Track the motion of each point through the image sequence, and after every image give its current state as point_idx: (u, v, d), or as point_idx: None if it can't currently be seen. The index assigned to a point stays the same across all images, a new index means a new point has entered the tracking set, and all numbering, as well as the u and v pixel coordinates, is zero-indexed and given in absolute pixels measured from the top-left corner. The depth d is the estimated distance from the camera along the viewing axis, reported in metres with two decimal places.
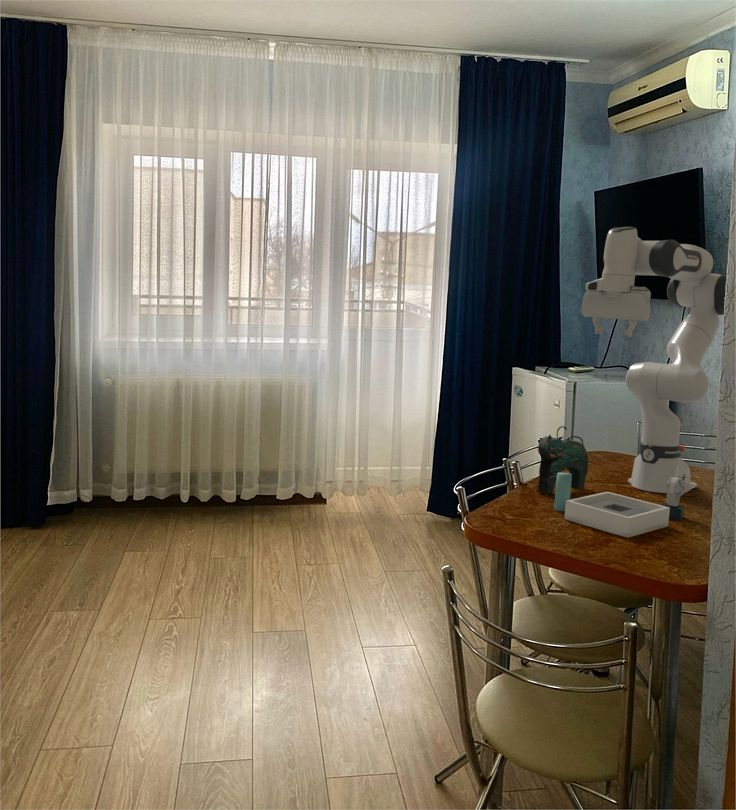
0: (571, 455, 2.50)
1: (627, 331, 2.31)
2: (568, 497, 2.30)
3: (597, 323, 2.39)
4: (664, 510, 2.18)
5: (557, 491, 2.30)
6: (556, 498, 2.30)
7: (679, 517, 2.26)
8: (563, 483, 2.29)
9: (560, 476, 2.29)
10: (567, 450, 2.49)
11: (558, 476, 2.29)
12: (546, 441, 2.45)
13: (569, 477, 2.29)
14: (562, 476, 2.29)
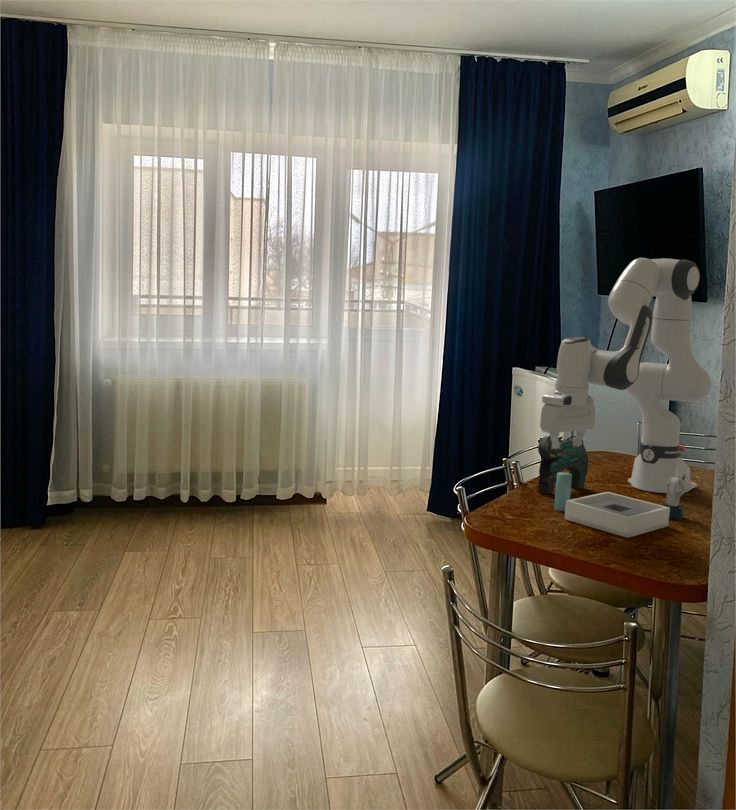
0: (571, 455, 2.50)
1: (580, 440, 2.31)
2: (568, 497, 2.30)
3: None
4: (664, 510, 2.18)
5: (557, 491, 2.30)
6: (556, 498, 2.30)
7: (679, 517, 2.26)
8: (563, 483, 2.29)
9: (560, 476, 2.29)
10: (567, 450, 2.49)
11: (558, 476, 2.29)
12: (546, 441, 2.45)
13: (569, 477, 2.29)
14: (562, 476, 2.28)
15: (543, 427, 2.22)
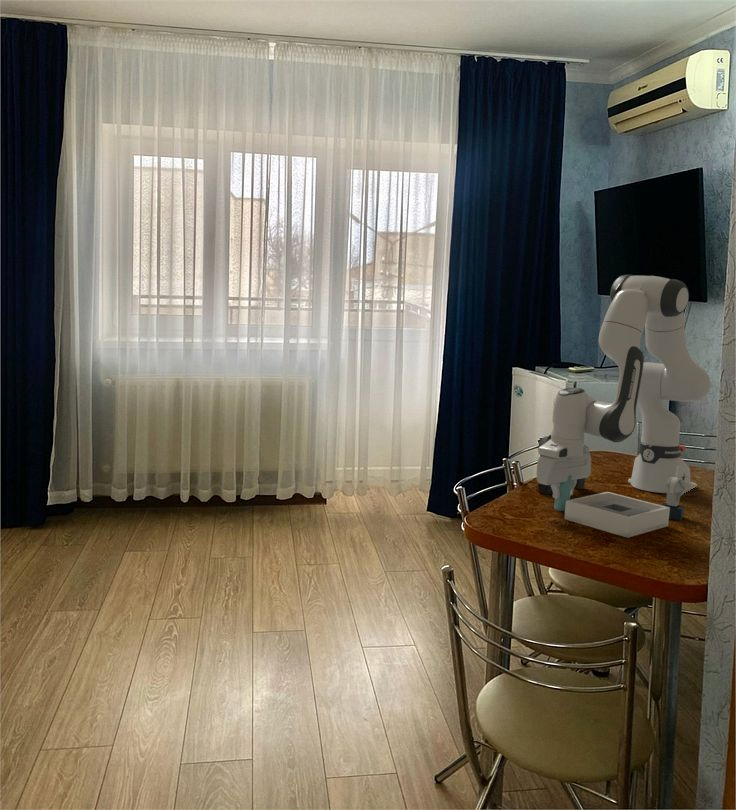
0: None
1: (572, 490, 2.32)
2: (568, 497, 2.30)
3: None
4: (664, 510, 2.18)
5: None
6: None
7: (679, 517, 2.26)
8: (563, 483, 2.29)
9: None
10: None
11: None
12: (546, 441, 2.45)
13: (569, 477, 2.29)
14: None
15: (539, 479, 2.24)
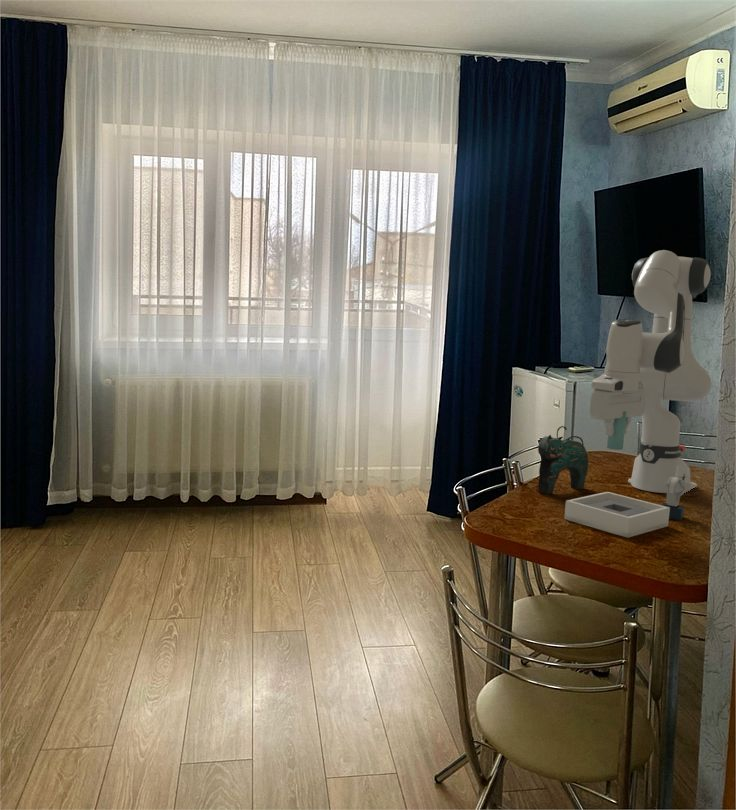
0: (571, 455, 2.50)
1: (626, 428, 2.20)
2: (622, 435, 2.17)
3: None
4: (664, 510, 2.18)
5: None
6: (609, 436, 2.18)
7: (679, 517, 2.26)
8: (617, 420, 2.16)
9: None
10: (567, 450, 2.49)
11: None
12: (546, 441, 2.45)
13: (624, 413, 2.16)
14: None
15: (592, 414, 2.12)
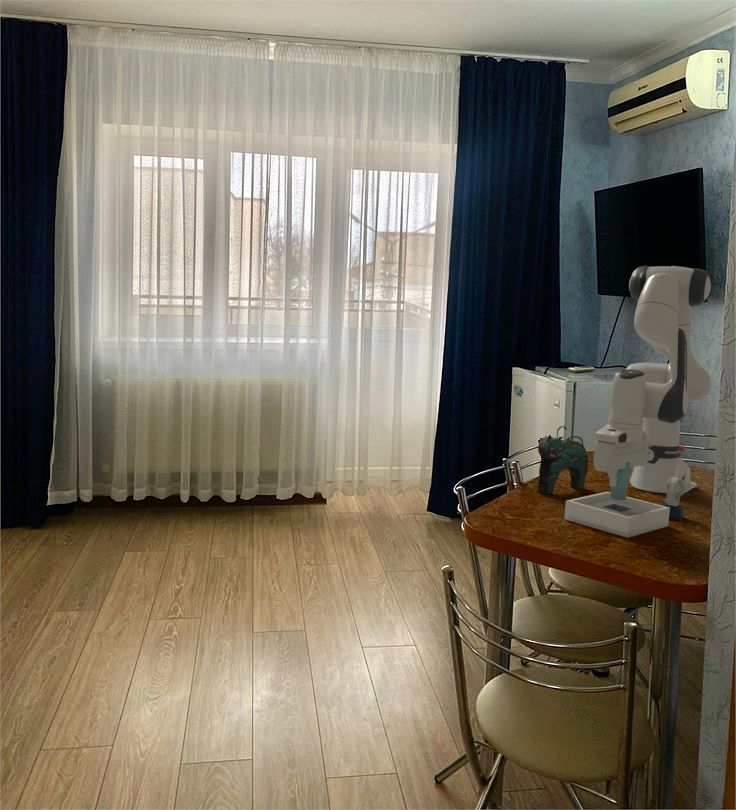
0: (571, 455, 2.50)
1: (629, 478, 2.20)
2: (626, 485, 2.18)
3: None
4: (664, 510, 2.18)
5: None
6: None
7: (679, 517, 2.26)
8: (621, 470, 2.17)
9: None
10: (567, 450, 2.49)
11: None
12: (546, 441, 2.45)
13: (627, 464, 2.17)
14: None
15: (596, 466, 2.13)
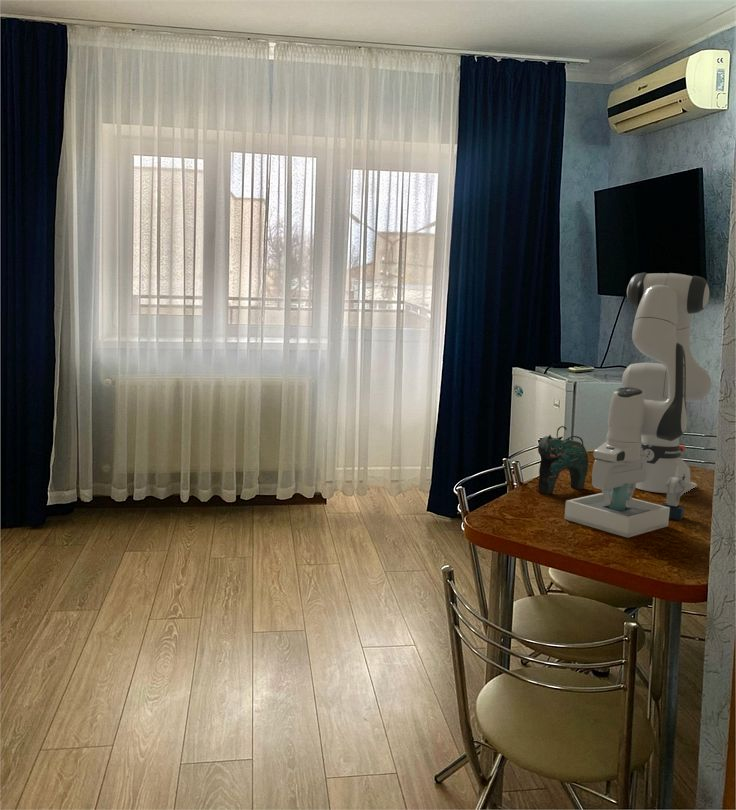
0: (571, 455, 2.50)
1: (631, 494, 2.22)
2: (624, 506, 2.19)
3: None
4: (664, 510, 2.18)
5: None
6: (611, 507, 2.20)
7: (679, 517, 2.26)
8: (619, 492, 2.18)
9: None
10: (567, 450, 2.49)
11: None
12: (546, 441, 2.45)
13: (625, 485, 2.18)
14: None
15: (594, 484, 2.13)
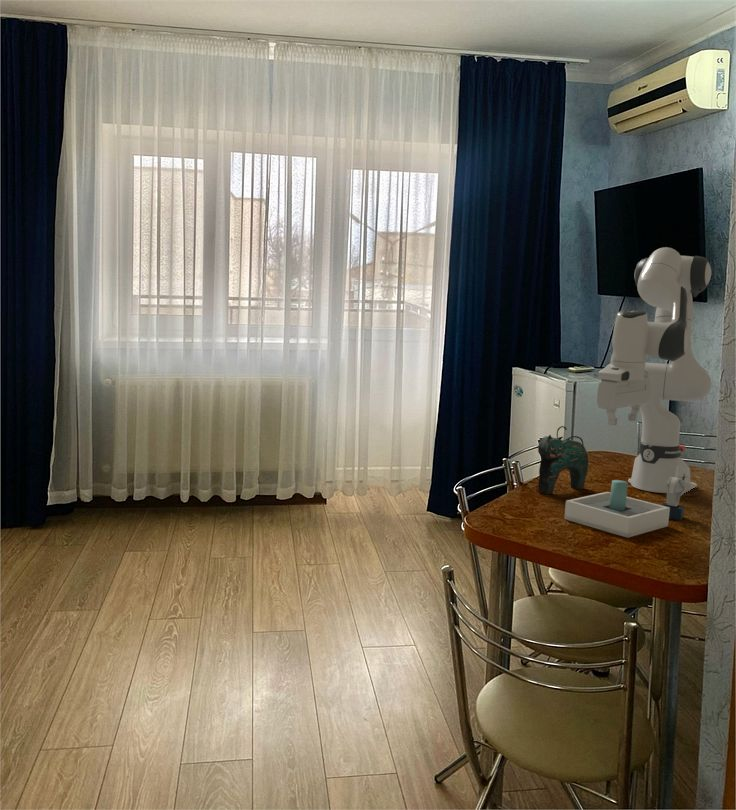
0: (571, 455, 2.50)
1: (636, 416, 2.26)
2: (624, 506, 2.19)
3: None
4: (664, 510, 2.18)
5: (612, 500, 2.19)
6: (611, 507, 2.20)
7: (679, 517, 2.26)
8: (619, 492, 2.18)
9: (615, 484, 2.18)
10: (567, 450, 2.49)
11: (613, 484, 2.19)
12: (546, 441, 2.45)
13: (625, 485, 2.18)
14: (618, 484, 2.18)
15: (600, 404, 2.17)
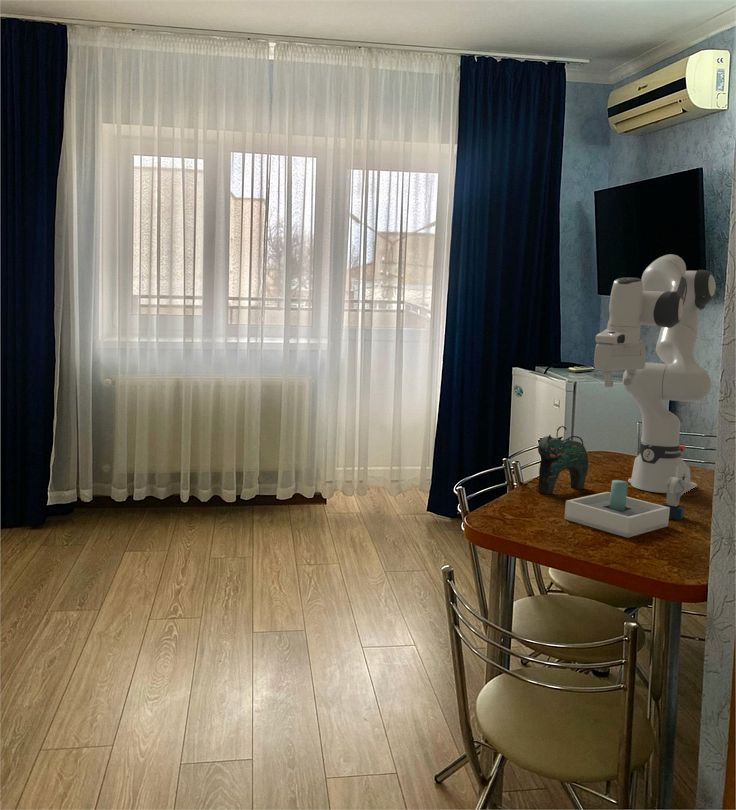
0: (571, 455, 2.50)
1: (631, 380, 2.36)
2: (624, 506, 2.19)
3: None
4: (664, 510, 2.18)
5: (612, 500, 2.19)
6: (611, 507, 2.20)
7: (679, 517, 2.26)
8: (619, 492, 2.18)
9: (615, 484, 2.18)
10: (567, 450, 2.49)
11: (613, 484, 2.19)
12: (546, 441, 2.45)
13: (625, 485, 2.18)
14: (618, 484, 2.18)
15: (596, 366, 2.27)
